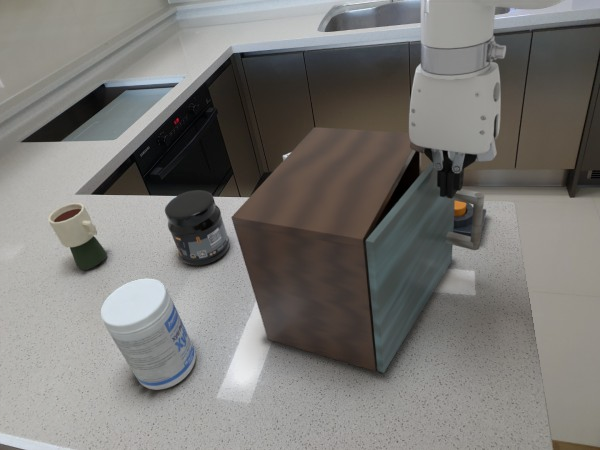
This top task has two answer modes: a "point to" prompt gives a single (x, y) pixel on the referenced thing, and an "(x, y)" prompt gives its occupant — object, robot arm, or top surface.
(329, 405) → the top surface
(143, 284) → the supplement tub
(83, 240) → the character mug
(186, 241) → the supplement container
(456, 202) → the button
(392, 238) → the cupboard door
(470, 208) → the switch block
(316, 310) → the cupboard
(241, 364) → the top surface
